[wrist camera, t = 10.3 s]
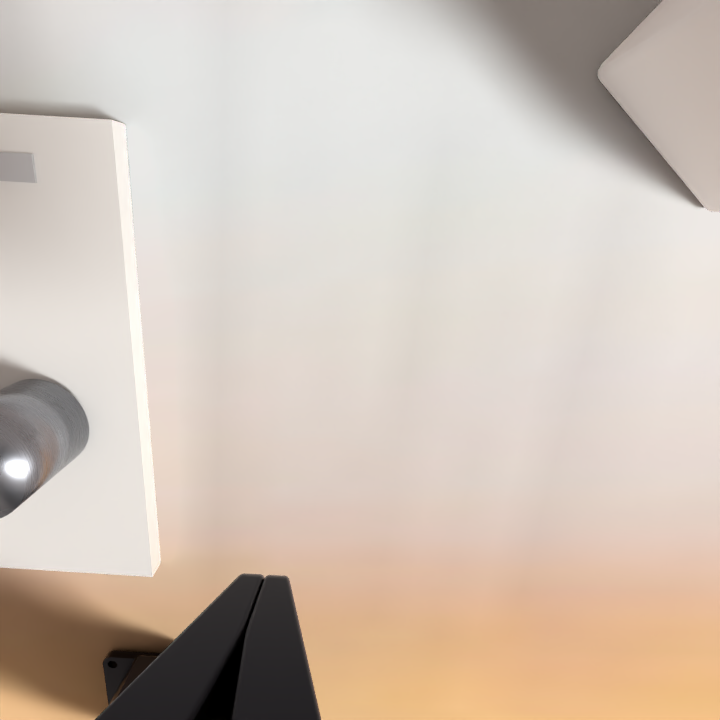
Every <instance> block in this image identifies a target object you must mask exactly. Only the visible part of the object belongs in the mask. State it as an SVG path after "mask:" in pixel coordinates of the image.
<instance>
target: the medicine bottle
mask: <svg viewBox="0 0 720 720" xmlns="http://www.w3.org/2000/svg"><path fill="white" fill-rule="evenodd" d="M598 78H599V80H600V81H601V83H602V84H603V85H604V86H605V87H606V89H607V90H608V91H609V92H610V93H611V95H612V96H613V97H614V98H615V100H616V101H617V102H618V103H619V104H620V106H621V107H622V108H623V109H624V110H625V112H626V113H627V114H628V115H629V117H630V118H631V119H632V120H633V121H634V123H635V124H636V125H637V126H638V127H639V129H640V130H641V131H642V132H643V133H644V135H645V136H646V137H647V138H648V140H649V141H650V142H651V143H652V144H653V146H654V147H655V148H656V149H657V150H658V152H659V153H660V154H661V155H662V157H663V158H664V159H665V160H666V161H667V163H668V164H669V165H670V166H671V167H672V169H673V170H674V171H675V172H676V173H677V175H678V176H679V177H680V178H681V180H682V181H683V182H684V183H685V184H686V186H687V187H688V188H689V189H690V190H691V192H692V193H693V194H694V195H695V197H696V198H697V199H698V200H699V201H700V203H701V204H702V205H703V206H704V207H705V208H706V209H707V210H709V211H711V212H720V0H662V2H661V3H660V4H659V5H658V6H657V7H656V8H655V9H654V10H653V11H652V12H651V13H650V14H649V15H648V16H647V17H646V18H645V19H644V20H643V21H642V22H641V23H640V24H639V25H638V26H637V28H636V29H635V30H634V31H633V32H632V33H631V34H630V35H629V36H628V37H627V38H626V39H625V40H624V41H623V42H622V43H621V44H620V45H619V46H618V47H617V48H616V49H615V50H614V51H613V52H612V54H611V55H610V56H609V57H608V58H607V59H606V60H605V61H604V62H603V63H602V64H601V66H600V68H599V70H598Z"/></svg>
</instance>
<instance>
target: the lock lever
mask: <svg viewBox="0 0 720 720" xmlns="http://www.w3.org/2000/svg"><path fill="white" fill-rule="evenodd" d="M88 438H89V423H88V419H87V416H86V414H85V411H84V410H83V408H82V406H81V405H80V403H79V402H78V401H77V400H76V399H75V398H74V397H73V396H72V395H71V394H70V393H69V392H68V391H66V390H65V389H63V388H62V387H60V386H58V385H56V384H54V383H51V382H48V381H45V380H39V379H25V380H21V381H18V382H15V383H13V384H11V385H9V386H7V387H5V388H3V389H1V390H0V518H3V517H5V516H7V515H8V514H10V513H11V512H13V511H14V510H15V509H16V508H17V507H19V506H20V505H21V504H22V503H23V502H25V501H26V500H27V499H28V498H29V497H30V496H32V495H33V494H34V493H35V492H36V491H37V490H39V489H40V488H41V487H42V486H43V485H44V484H46V483H47V482H48V481H49V480H50V479H52V478H53V477H54V476H55V475H56V474H57V473H59V472H60V471H61V470H62V469H63V468H64V467H66V466H67V465H68V464H69V463H70V462H71V461H73V460H74V459H75V458H76V457H77V456H78V455H79V454H80V453H81V452H82V451H83V450H84V448H85V446H86V444H87V442H88Z"/></svg>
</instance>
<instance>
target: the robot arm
mask: <svg viewBox="0 0 720 720" xmlns="http://www.w3.org/2000/svg"><path fill="white" fill-rule="evenodd" d="M103 667H104V674H105V682H106V689H107V696H108V704H109V706H108V707H107V708H106V709H105V710H104V711H103V712H102V713H101V714H100V715H99V716H98V717H97V718H96V719H95V720H321V717H320V712H319V708H318V704H317V699H316V695H315V690H314V686H313V682H312V677H311V673H310V668H309V664H308V660H307V655H306V651H305V647H304V642H303V638H302V633H301V629H300V625H299V620H298V616H297V612H296V607H295V603H294V598H293V594H292V590H291V585H290V581H289V578H288V577H287V576H277V575H268V576H266V577H265V578H264V576H263V575H261V574H241V575H239V576H238V577H237V578H236V579H235V580H234V581H233V582H232V583H231V584H230V585H229V586H228V587H227V588H226V589H225V590H224V591H223V592H222V593H221V594H220V595H219V596H218V597H217V598H216V599H215V600H214V601H213V602H212V603H211V604H210V605H209V606H208V607H207V608H206V609H205V610H204V611H203V612H202V613H201V614H200V615H199V616H198V617H197V618H196V619H195V620H194V621H193V622H192V623H191V624H190V625H189V626H188V627H187V628H186V629H185V630H184V631H183V632H182V633H181V634H180V635H179V636H178V637H177V638H176V639H175V640H174V641H173V642H172V643H171V644H170V645H169V646H168V647H167V648H166V649H165V650H164V651H163V652H162V653H161V654H160V653H145V652H129V651H111V652H109V653H108V654H107V656H106V658H105V659H104V661H103Z"/></svg>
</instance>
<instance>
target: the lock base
mask: <svg viewBox="0 0 720 720" xmlns="http://www.w3.org/2000/svg"><path fill="white" fill-rule="evenodd" d="M25 379H39V380H45V381H48V382H51V383H54V384H56V385H58V386H60V387H62V388H63V389H65V390H66V391H68V392H69V393H70V394H71V395H72V396H73V397H74V398H75V399H76V400H77V401H78V402H79V403H80V405H81V406H82V408H83V410H84V411H85V414H86V416H87V419H88V423H89V438H88V442H87V444H86V446H85V448H84V450H83V451H82V452H81V453H80V454H79V455H78V456H77V457H76V458H75V459H74V460H73V461H71V462H70V463H69V464H68V465H67V466H66V467H64V468H63V469H62V470H61V471H60V472H59V473H57V474H56V475H55V476H54V477H53V478H52V479H50V480H49V481H48V482H47V483H46V484H44V485H43V486H42V487H41V488H40V489H39V490H37V491H36V492H35V493H34V494H33V495H32V496H30V497H29V498H28V499H27V500H26V501H25V502H23V503H22V504H21V505H20V506H19V507H17V508H16V509H15V510H14V511H13V512H11V513H10V514H8V515H7V516H5V517H3V518H0V567H1V568H17V569H33V570H49V571H65V572H81V573H97V574H113V575H129V576H145V577H153V575H154V574H155V572H156V570H157V568H158V567H159V565H160V563H161V555H160V543H159V531H158V519H157V506H156V494H155V482H154V470H153V457H152V445H151V433H150V421H149V408H148V396H147V384H146V372H145V359H144V347H143V335H142V323H141V310H140V298H139V286H138V274H137V261H136V249H135V237H134V225H133V212H132V200H131V188H130V176H129V163H128V151H127V139H126V127H125V124H123V123H120V122H117V121H114V120H109V119H93V118H76V117H59V116H42V115H26V114H9V113H0V390H1V389H3V388H5V387H7V386H9V385H11V384H13V383H15V382H18V381H21V380H25Z"/></svg>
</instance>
